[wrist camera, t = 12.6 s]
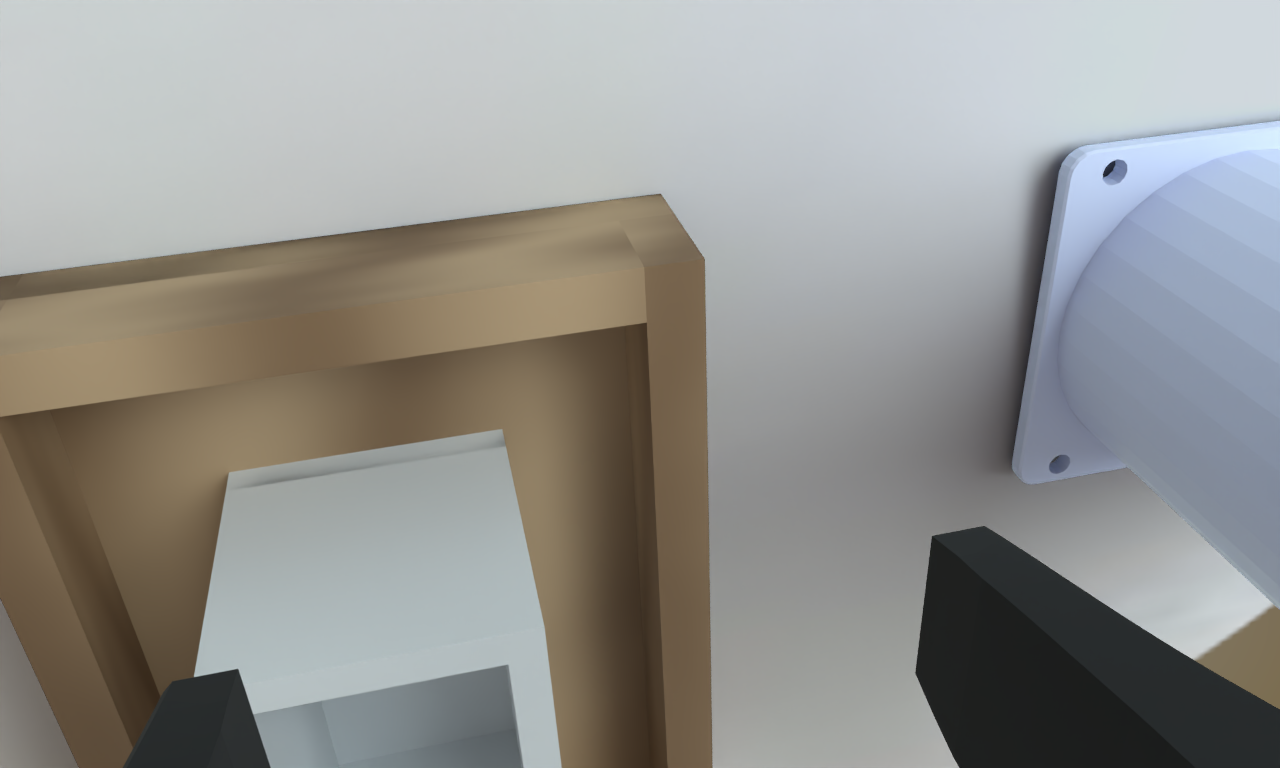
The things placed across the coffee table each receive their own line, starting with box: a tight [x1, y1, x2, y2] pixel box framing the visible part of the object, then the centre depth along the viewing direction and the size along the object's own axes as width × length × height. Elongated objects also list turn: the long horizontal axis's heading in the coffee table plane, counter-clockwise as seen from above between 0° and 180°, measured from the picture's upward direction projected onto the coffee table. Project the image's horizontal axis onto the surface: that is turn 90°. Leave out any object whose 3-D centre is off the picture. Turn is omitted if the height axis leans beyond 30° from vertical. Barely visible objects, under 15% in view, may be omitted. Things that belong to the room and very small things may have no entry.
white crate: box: [194, 429, 562, 768], centre depth 20 cm, size 5×8×6 cm, turn 3°
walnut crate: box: [0, 194, 712, 768], centre depth 22 cm, size 12×16×3 cm
